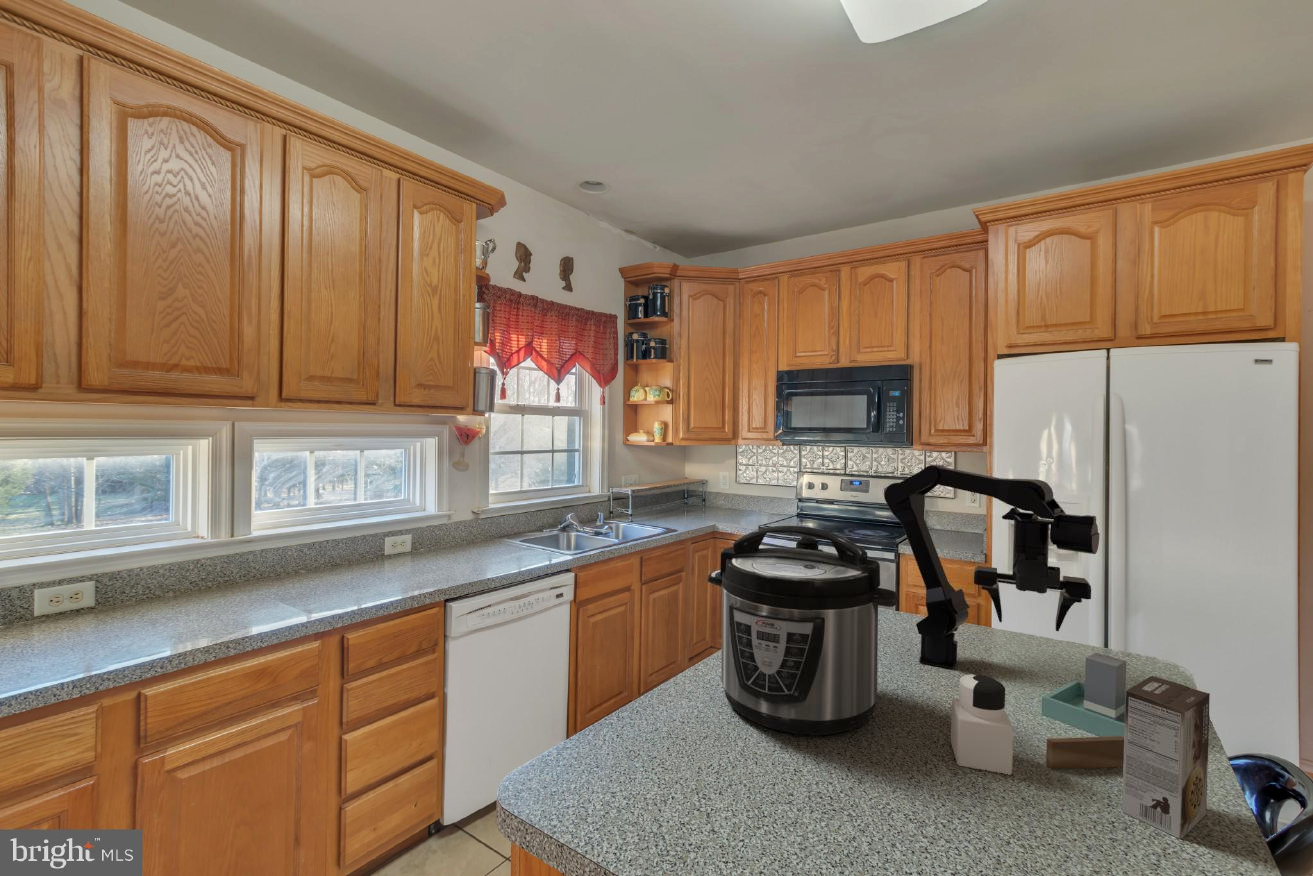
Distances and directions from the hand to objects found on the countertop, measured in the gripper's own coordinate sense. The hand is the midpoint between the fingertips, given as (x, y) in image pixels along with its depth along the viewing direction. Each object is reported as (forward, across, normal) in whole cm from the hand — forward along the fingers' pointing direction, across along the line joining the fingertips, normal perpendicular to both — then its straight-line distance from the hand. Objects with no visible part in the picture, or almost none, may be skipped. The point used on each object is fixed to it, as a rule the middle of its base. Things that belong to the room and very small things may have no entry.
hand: (1028, 626), depth 114 cm
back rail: (+12, +7, -27) cm, 30 cm away
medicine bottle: (+12, -7, -33) cm, 36 cm away
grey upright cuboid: (+11, +11, -8) cm, 18 cm away
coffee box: (+12, +14, -35) cm, 40 cm away
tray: (+12, +11, -8) cm, 18 cm away
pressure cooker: (+12, -36, -31) cm, 49 cm away
